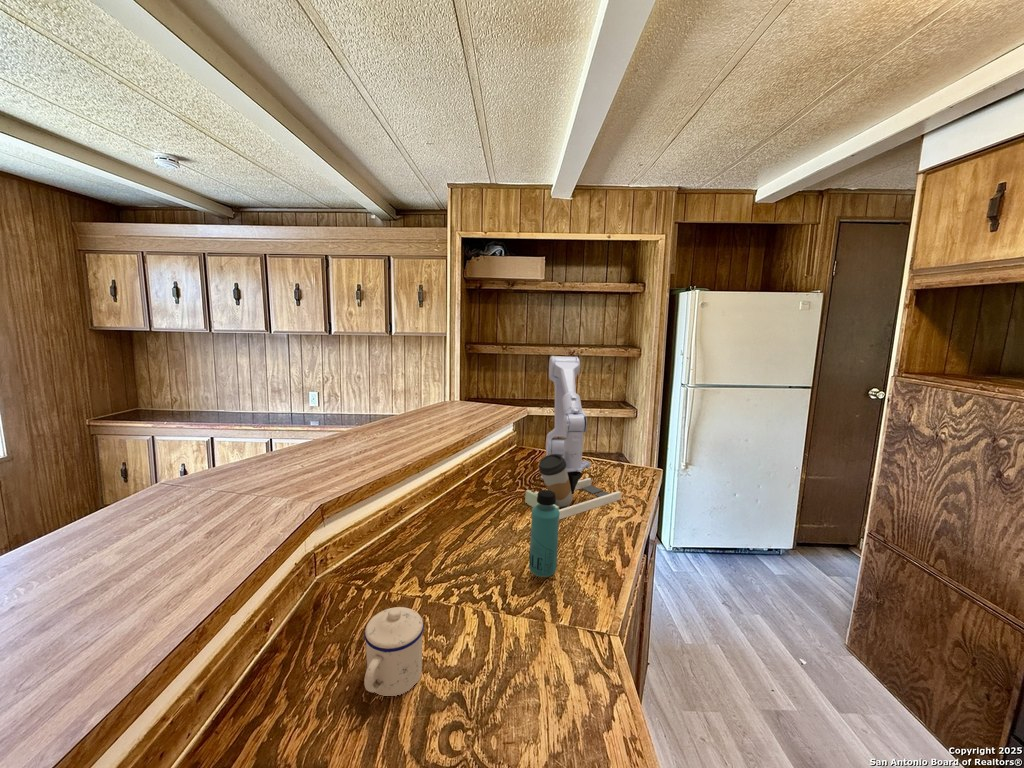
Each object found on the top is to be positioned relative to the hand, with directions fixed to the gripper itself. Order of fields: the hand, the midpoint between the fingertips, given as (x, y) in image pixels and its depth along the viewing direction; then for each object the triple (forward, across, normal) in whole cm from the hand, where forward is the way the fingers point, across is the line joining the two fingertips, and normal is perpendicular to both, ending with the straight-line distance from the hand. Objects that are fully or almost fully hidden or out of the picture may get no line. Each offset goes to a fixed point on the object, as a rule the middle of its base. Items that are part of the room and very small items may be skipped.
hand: (570, 493), depth 138 cm
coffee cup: (+2, -3, 0) cm, 4 cm away
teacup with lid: (+3, -71, -34) cm, 79 cm away
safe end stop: (+3, -12, 0) cm, 12 cm away
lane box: (+3, +2, 0) cm, 4 cm away
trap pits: (+3, +13, 0) cm, 14 cm away
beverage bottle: (+3, -32, -25) cm, 41 cm away
